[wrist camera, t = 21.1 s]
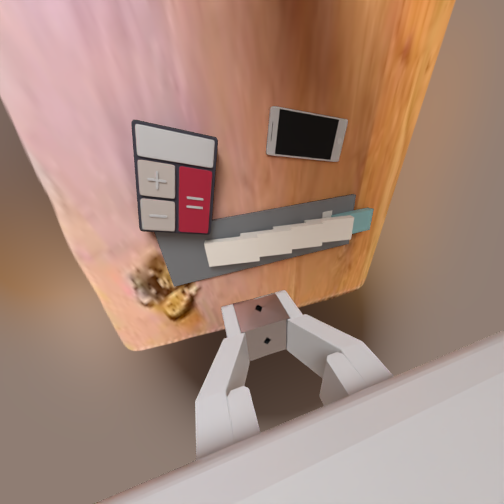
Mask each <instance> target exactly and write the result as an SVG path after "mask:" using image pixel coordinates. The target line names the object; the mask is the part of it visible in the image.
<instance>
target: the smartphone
mask: <svg viewBox="0 0 504 504" xmlns="http://www.w3.org/2000/svg"><path fill="white" fill-rule="evenodd" d="M347 124H348V120H346V119H342V118H337V117H331V116H326V115H320V114H315V113H310V112H304V111H299V110H293V109H288V108H282V107H277V106H272V107H271V108H270V114H269V125H268V135H267V146H266V154H267V155H272V156H282V157H291V158H301V159H311V160H321V161H330V162H338V161H339V157H340V153H341V149H342V145H343V141H344V136H345V132H346V128H347Z"/></svg>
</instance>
